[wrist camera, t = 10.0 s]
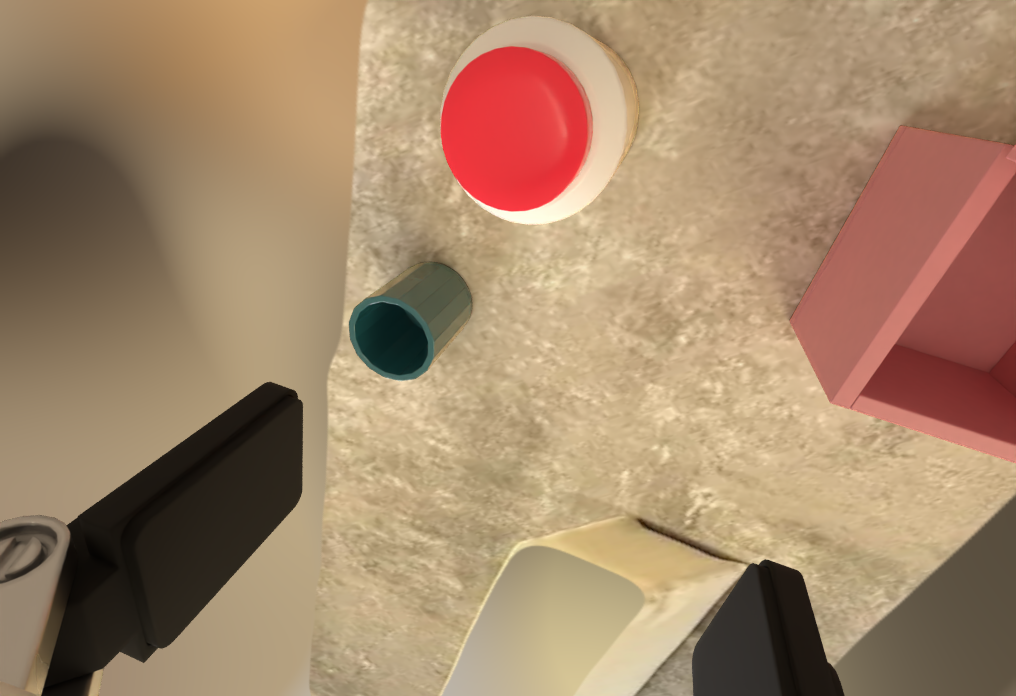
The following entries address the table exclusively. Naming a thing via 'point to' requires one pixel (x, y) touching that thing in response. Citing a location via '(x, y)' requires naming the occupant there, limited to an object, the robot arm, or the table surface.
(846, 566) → the table surface
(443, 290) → the cup
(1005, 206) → the pink box
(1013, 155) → the lid
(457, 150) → the pill bottle
